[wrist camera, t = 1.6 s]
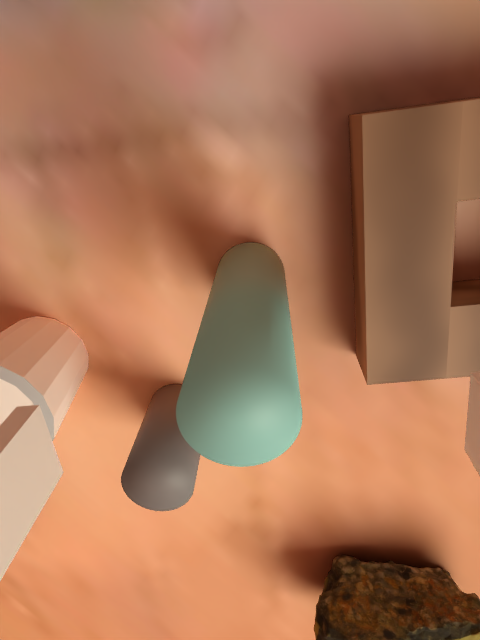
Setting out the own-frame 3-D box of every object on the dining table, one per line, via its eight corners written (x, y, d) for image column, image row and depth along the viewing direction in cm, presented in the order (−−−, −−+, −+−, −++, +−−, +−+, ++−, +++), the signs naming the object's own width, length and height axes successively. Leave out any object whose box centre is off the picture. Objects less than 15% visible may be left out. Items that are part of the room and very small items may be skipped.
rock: (338, 740, 33) (335, 702, 28) (301, 605, 40) (294, 558, 35) (503, 691, 33) (525, 646, 29) (437, 568, 41) (446, 517, 36)
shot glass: (-19, 308, 29) (-98, 363, 23) (87, 305, 29) (37, 360, 22) (9, 399, 32) (-55, 471, 26) (106, 398, 31) (66, 470, 25)
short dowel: (156, 434, 32) (130, 513, 26) (144, 386, 31) (113, 457, 25) (212, 430, 32) (199, 508, 26) (203, 381, 30) (186, 452, 24)
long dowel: (222, 309, 28) (187, 470, 16) (212, 246, 27) (164, 367, 14) (287, 303, 28) (306, 462, 15) (281, 238, 26) (297, 355, 14)
